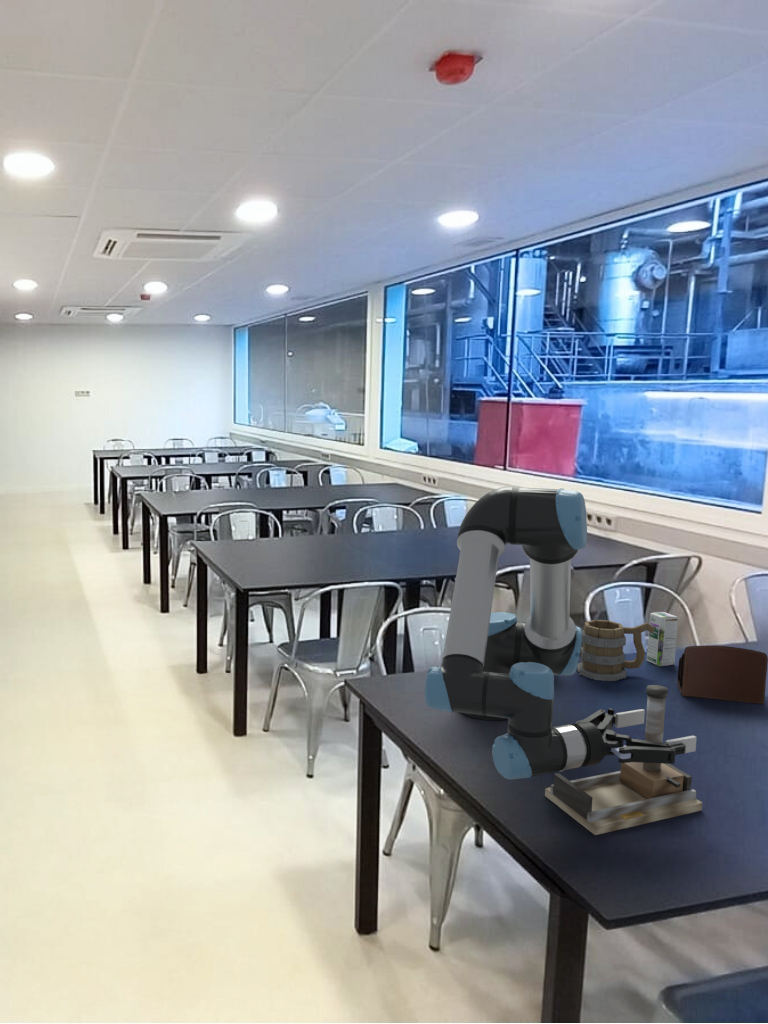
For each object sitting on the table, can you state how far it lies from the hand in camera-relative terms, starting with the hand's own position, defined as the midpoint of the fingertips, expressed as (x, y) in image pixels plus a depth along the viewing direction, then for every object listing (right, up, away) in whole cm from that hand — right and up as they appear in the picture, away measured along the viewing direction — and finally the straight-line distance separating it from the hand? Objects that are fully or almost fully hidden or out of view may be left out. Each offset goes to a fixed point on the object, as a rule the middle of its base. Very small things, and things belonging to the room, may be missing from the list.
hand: (668, 729), depth 152 cm
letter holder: (+34, -7, +57) cm, 67 cm away
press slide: (-3, -11, -1) cm, 12 cm away
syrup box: (+27, -3, +82) cm, 86 cm away
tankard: (+10, -4, +71) cm, 72 cm away
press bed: (-9, -13, -2) cm, 16 cm away
